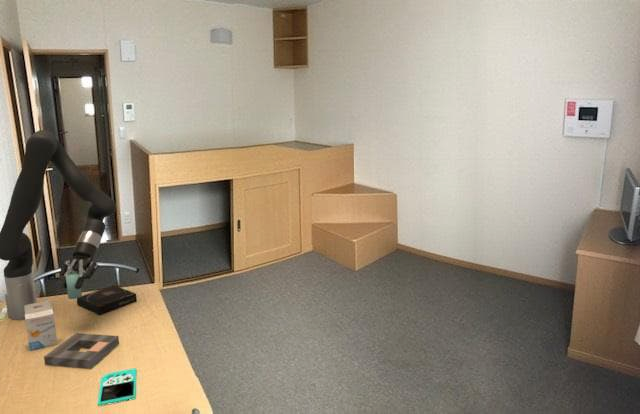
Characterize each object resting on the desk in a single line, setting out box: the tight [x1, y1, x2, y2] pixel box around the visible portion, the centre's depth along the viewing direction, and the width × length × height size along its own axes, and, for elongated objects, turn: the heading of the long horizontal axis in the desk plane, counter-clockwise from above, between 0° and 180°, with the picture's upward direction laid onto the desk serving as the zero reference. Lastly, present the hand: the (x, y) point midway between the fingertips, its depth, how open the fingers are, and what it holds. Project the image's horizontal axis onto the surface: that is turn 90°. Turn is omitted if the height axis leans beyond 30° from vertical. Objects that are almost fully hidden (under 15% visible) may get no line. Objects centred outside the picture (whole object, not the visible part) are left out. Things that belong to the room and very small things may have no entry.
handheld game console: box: [97, 368, 137, 406], centre depth 141 cm, size 10×16×1 cm, turn 20°
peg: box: [66, 273, 83, 300], centre depth 172 cm, size 4×4×8 cm
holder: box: [43, 332, 120, 370], centre depth 159 cm, size 16×16×3 cm
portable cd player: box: [76, 285, 137, 316], centre depth 199 cm, size 16×17×4 cm
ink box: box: [24, 300, 58, 351], centre depth 164 cm, size 8×5×15 cm, turn 123°
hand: (70, 287), depth 170 cm, fingers closed on peg, 4 cm apart
